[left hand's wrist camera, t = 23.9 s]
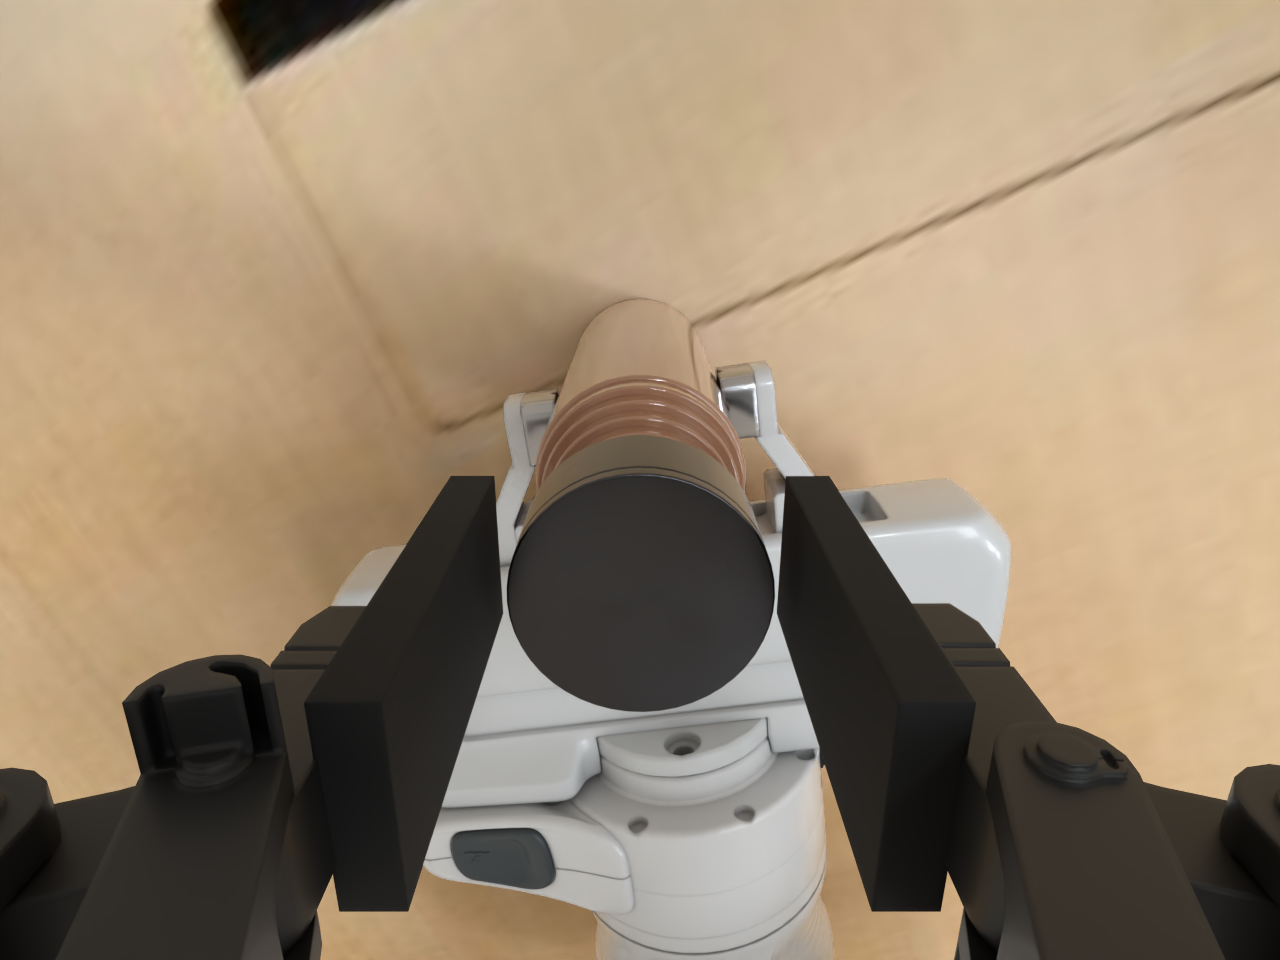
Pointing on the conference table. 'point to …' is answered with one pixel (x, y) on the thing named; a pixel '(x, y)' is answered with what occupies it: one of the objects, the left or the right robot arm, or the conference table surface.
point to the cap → (640, 576)
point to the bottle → (640, 389)
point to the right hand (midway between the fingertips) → (634, 381)
